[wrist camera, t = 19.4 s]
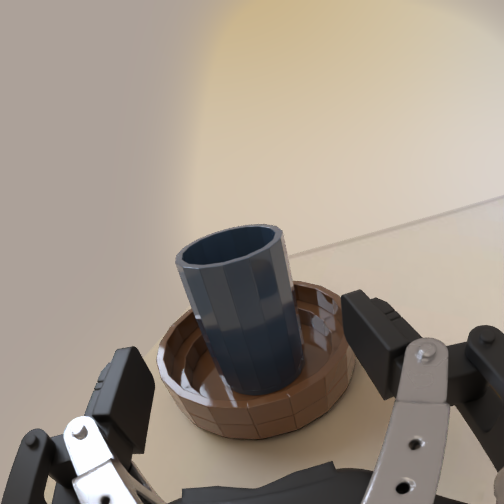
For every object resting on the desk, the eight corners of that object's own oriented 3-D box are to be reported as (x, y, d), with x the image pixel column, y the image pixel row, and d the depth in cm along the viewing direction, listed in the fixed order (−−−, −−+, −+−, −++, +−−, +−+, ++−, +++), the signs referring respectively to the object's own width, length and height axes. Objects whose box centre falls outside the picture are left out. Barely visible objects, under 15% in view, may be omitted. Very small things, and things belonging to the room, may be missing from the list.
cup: (210, 395, 19) (156, 274, 16) (231, 339, 25) (197, 233, 22) (303, 394, 17) (275, 257, 14) (307, 333, 23) (286, 218, 20)
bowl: (151, 432, 17) (124, 397, 16) (206, 322, 30) (194, 289, 28) (361, 438, 13) (365, 400, 12) (346, 308, 26) (342, 271, 25)
